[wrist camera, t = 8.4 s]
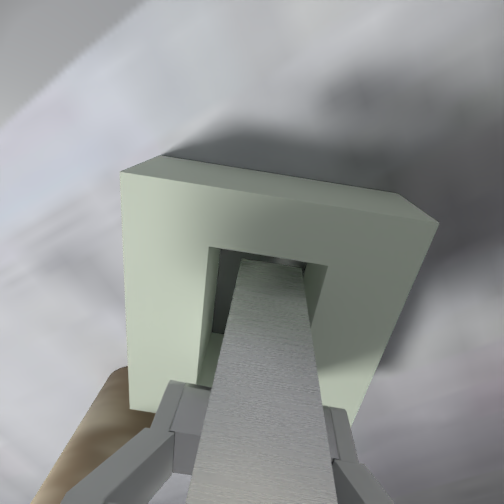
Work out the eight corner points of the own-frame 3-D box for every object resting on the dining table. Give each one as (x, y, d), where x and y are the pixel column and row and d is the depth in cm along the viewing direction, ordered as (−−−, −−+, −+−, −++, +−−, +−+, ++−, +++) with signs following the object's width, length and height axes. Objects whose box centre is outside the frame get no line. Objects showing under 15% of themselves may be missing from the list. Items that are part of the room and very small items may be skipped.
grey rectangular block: (301, 267, 13) (344, 551, 5) (277, 364, 15) (277, 664, 7) (241, 258, 13) (180, 523, 5) (227, 356, 15) (168, 646, 7)
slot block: (397, 193, 14) (439, 223, 10) (331, 380, 19) (343, 443, 16) (159, 155, 14) (119, 171, 10) (157, 352, 19) (129, 408, 16)
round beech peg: (180, 372, 20) (125, 524, 13) (177, 423, 22) (129, 577, 15) (103, 360, 20) (5, 504, 13) (108, 412, 22) (26, 560, 15)
